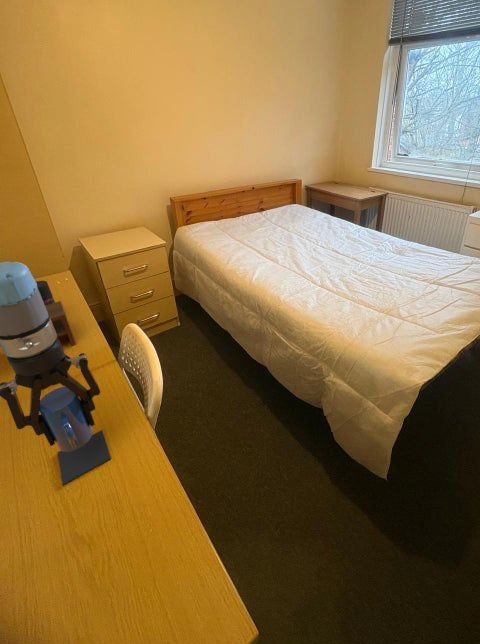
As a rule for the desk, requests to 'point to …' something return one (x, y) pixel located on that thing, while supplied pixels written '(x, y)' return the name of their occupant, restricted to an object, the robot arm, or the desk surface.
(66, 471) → the mat
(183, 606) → the desk surface
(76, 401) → the blue oval cylinder
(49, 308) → the shelf
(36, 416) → the robot arm
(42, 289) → the deodorant
